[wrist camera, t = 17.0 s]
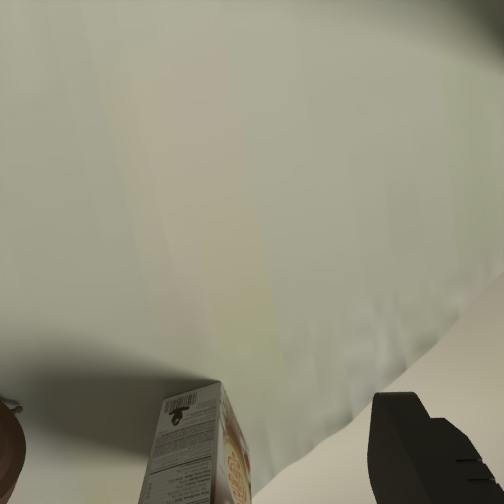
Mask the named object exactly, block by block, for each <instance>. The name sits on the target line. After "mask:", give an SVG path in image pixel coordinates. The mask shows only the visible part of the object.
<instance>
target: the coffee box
mask: <svg viewBox="0 0 504 504" xmlns="http://www.w3.org/2000/svg"><path fill="white" fill-rule="evenodd" d="M138 504H251V477H250V455H249V449H248V447H247V444H246V442H245V439H244V437H243V434H242V432H241V429H240V427H239V424H238V422H237V419H236V417H235V415H234V412H233V409H232V407H231V404H230V402H229V399H228V397H227V394H226V392H225V389H224V387H223V385H222V383H221V382H218V383H214V384H211V385H208V386H205V387H201V388H198V389H195V390H192V391H189V392H185V393H182V394H179V395H176V396H173V397H170V398H167V399H164V400H163V403H162V407H161V411H160V415H159V419H158V423H157V427H156V431H155V435H154V440H153V444H152V448H151V452H150V456H149V460H148V464H147V468H146V473H145V477H144V481H143V485H142V489H141V493H140V498H139V502H138Z"/></svg>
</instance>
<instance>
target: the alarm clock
mask: <svg viewBox="0 0 504 504" xmlns="http://www.w3.org/2000/svg"><path fill="white" fill-rule="evenodd" d="M21 411H22V406H17V407H16V408H15V409H12V410H10V409H9V408H8V407H7V406H6V405H5V404H4V403H2V402H1V401H0V504H7V502H8V500H9V498H10V497H11V494H12V492H13V490H14V488H15V485H16V482H17V480H18V477H19V474H20V472H21V470H22V467H23V464H24V460H25V455H26V442H25V436H24V433H23V430H22V427H21V425H20V423H19V421H18V420H17V418H16V417H15V415H14V414H15V413H17V412H18V413H20V412H21Z"/></svg>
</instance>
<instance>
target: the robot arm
mask: <svg viewBox="0 0 504 504" xmlns="http://www.w3.org/2000/svg"><path fill="white" fill-rule="evenodd" d="M367 462H368V473H369V479H370V483H371V487H372V490H373V493H374V496H375V499H376V502H377V504H504V491H503V490H502V488H501V487H500V485H499V484H498V483H497V484H496V482H495V477H494V476H493V474H492V473H491V472H490V470H489V468H488V467H487V466H486V464H483V462H482V458H481V456H480V455H479V453H478V452H477V450H476V449H475V447H474V446H473V444H472V443H471V441H470V440H469V438H468V437H467V436H466V435H465V434H464V433H462V432H461V431H460V430H459V429H458V428H456V427H455V426H454V425H453V424H451V423H450V422H449V421H448V420H446V419H445V418H430V416H429V414H428V413H427V411H426V410H425V408H424V406H423V404H422V403H421V401H420V399H419V398H418V396H417V395H416V393H414V392H386V393H385V392H381V393H375V395H374V397H373V402H372V412H371V423H370V432H369V443H368V453H367Z"/></svg>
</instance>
